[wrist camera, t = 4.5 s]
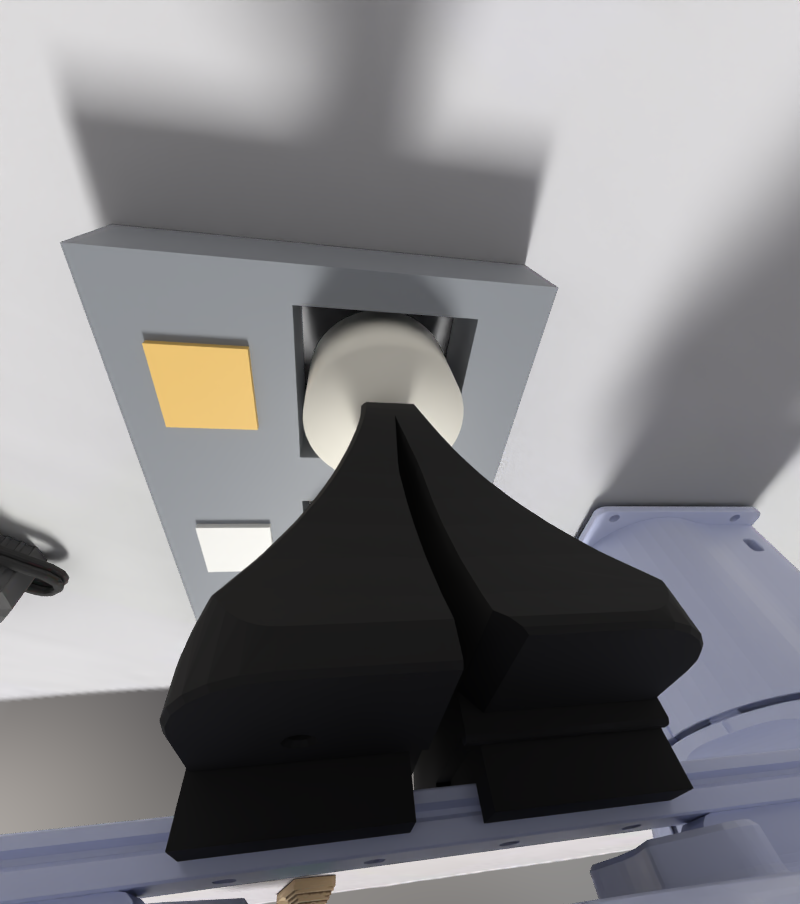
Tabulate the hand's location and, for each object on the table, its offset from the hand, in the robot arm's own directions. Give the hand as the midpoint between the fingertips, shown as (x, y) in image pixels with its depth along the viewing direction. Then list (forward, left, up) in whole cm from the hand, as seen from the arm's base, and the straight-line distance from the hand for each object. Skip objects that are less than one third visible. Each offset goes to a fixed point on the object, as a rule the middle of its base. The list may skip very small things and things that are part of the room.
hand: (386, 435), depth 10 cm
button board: (+1, +7, -5) cm, 9 cm away
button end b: (0, 0, -3) cm, 3 cm away
